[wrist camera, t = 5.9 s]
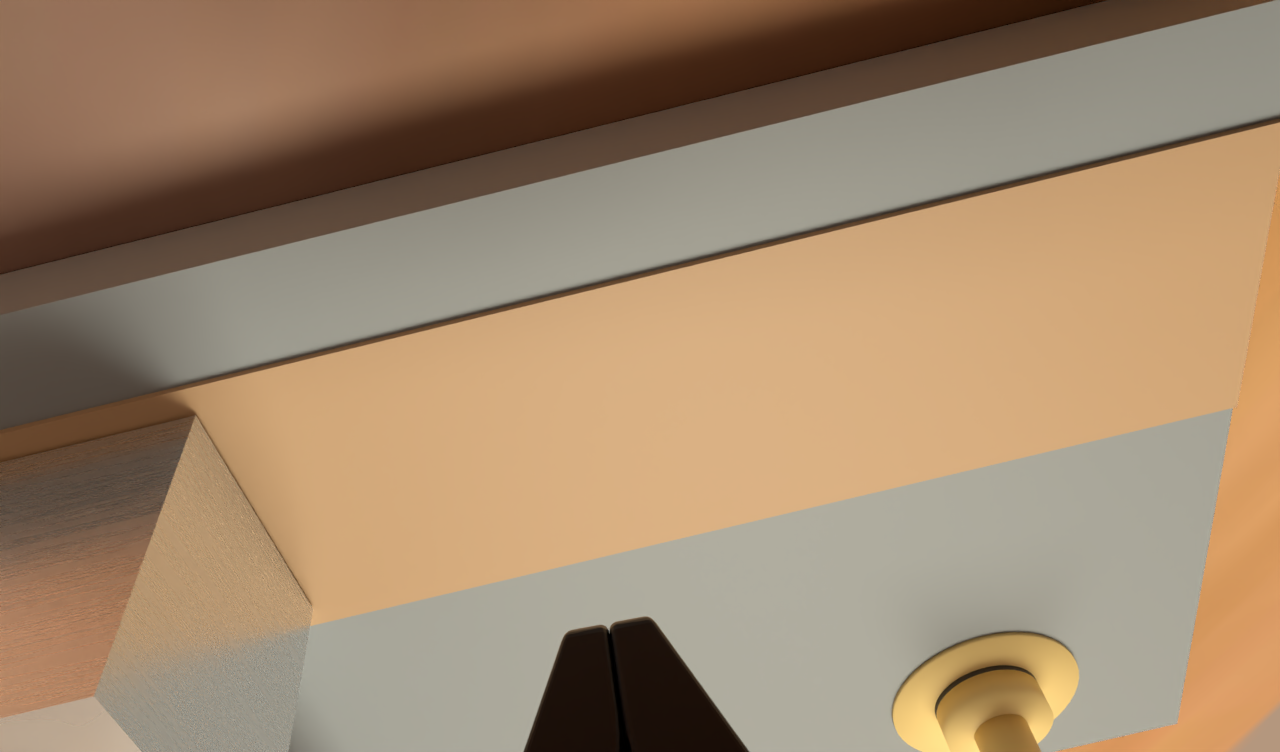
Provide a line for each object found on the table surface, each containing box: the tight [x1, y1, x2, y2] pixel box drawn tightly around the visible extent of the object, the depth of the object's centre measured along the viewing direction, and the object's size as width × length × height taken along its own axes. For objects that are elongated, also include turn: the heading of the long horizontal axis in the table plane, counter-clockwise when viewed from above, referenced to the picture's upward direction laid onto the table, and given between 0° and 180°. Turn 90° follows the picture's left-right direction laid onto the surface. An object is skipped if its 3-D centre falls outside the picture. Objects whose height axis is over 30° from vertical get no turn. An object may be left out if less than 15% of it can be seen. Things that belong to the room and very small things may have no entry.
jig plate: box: [0, 0, 1280, 752], centre depth 16 cm, size 22×15×5 cm
